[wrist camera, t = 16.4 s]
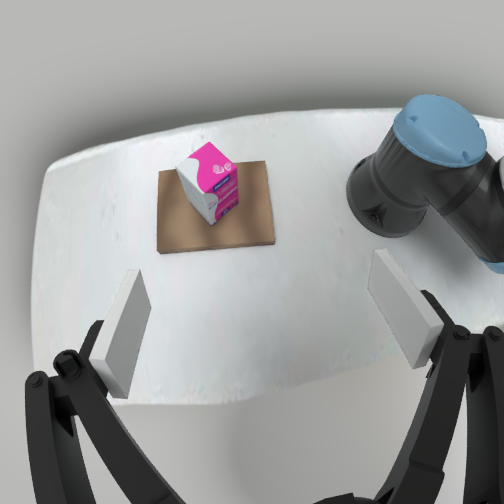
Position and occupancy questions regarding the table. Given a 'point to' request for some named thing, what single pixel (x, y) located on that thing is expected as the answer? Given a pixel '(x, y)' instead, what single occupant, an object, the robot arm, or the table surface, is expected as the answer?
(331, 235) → the table surface
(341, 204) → the table surface
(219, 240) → the brown flat block
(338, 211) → the table surface
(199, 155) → the supplement box
